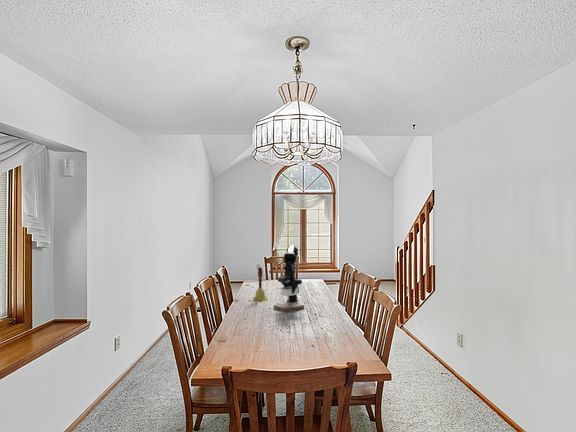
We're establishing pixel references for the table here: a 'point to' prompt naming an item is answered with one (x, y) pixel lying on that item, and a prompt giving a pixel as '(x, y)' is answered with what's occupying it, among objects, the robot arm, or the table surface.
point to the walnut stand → (288, 307)
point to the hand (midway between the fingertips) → (289, 293)
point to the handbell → (260, 288)
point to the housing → (288, 291)
